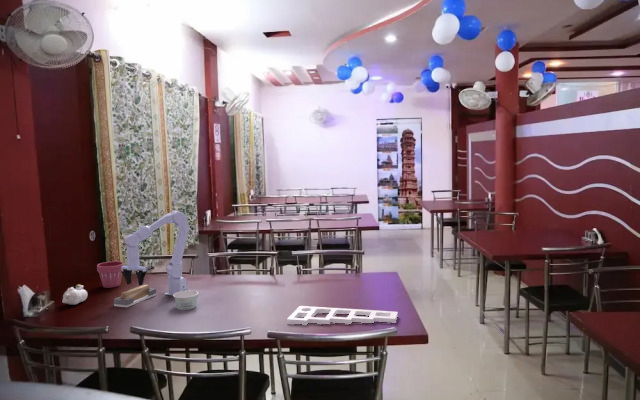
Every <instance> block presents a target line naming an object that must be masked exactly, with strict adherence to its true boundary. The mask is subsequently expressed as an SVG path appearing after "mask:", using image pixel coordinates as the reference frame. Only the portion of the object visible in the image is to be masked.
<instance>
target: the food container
mask: <svg viewBox="0 0 640 400" xmlns="http://www.w3.org/2000/svg"><path fill="white" fill-rule="evenodd" d="M199 293H200V292H199V291H197V290H192V289H189V290H188V289H187V290H186V291H180V292H177V293H175V294H173V295H172V297H174V302H175V306H176V309H177V310H180V311H185V310H186V311H187V310H192V309H195V308H196V307H197V305H198V296H199Z"/></svg>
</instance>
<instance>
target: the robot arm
mask: <svg viewBox="0 0 640 400" xmlns="http://www.w3.org/2000/svg"><path fill="white" fill-rule="evenodd" d="M167 224H175V226H176V228H177V229H178V233H177V237H176V242H175V244H174V248H173V251H172V256H171V259H170V260H169V263H168V264H167V266H166V267H165V271H166V273H167V276H166V277H167V278H166V279H167V291H168V292H165V293H164V295H165V296H173V294H175V293H177V292H180V291H186V290H188V281H187V278H185V277H183V276H182V274H183V261H182V260H183V256H184V254H185V248H186V244H187V240H188V236H189V232H190V224H189V222H188V217H187V215H186V214H185V213H184V212H182V211H179V210H172V211H171V212H168V213H166V214H165V215H164V216H161V218H159V219H158V220H156V221H155V222H153V223H151V224H150V225H149V226H148V225H141V226H140V228H139V229H137V230H136V231H133V232H131V233H132V234H128V235H126V237H125V238H124V239H125V240H124V244H126V259H127V260H126V262H127V265H124V266H121V269H122V272H121V273H122V277H124V279H125V282H126V284H127V285H130V284H132V275H133V273H132V272H133V271H134V272H135V275H136V278H137V281H138V287H139V286H142V285H144V280H145V277H146V275H147V272H148V271H147V270H148V269H147V266H142V265H140V251H139V245H140V243H141V242H143V241H144V240H146V239H147V238H149V237H151V236H152V235H153V233H154V231H155V230H158V229H159V228H162V227H163V226H164V225H167Z"/></svg>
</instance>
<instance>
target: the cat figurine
mask: <svg viewBox="0 0 640 400" xmlns="http://www.w3.org/2000/svg"><path fill="white" fill-rule="evenodd" d="M84 288H85V287H84V285H82V284H76V285H75V288H74V286H71V287H68V288H67V289H66V290H65V291H64V293H63V295H62V302H61V303H63V304H67V305H69V306H70V305H71V306H72V305H73V306H76V305H78V304H79V303H82V302H84V301H86V300H87V298H88V291H87V290H86V289H84Z"/></svg>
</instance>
